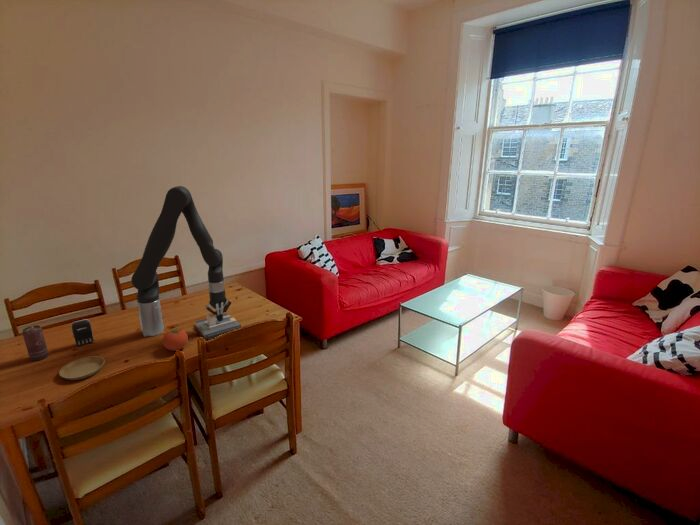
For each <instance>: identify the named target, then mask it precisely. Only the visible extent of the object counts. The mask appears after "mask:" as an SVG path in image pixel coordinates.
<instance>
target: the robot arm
mask: <svg viewBox="0 0 700 525" xmlns="http://www.w3.org/2000/svg"><path fill="white" fill-rule="evenodd" d="M192 196H193V195H192V193H191V192H190V190H189V189H188V188H186V187H185V186H182V185H181V186H180V185H177V186H174V187H171V188H170V189H169V190H168V191H167V192H166V195H165V196H164V197H165V198H164V200H163V201H164V202H163V204H162V209H161V212H160V214H159V216H158V218H157V220H156V222H155V224H154V226H153V227H152V230H151V232H150V234H149V237H148V239H147V241H146V245H145V248H144V251H143V254H142V257H141V260H140V262H139V263H138V265H137V267H136V269H135V271H134V272H133V274H132V275H131V285H132V286H133V287H134V289H136V290H137V293H136V294H137V295H136V301H137V308H138V312H139V313H138V317H139V318H138V319H139V323H140V324H139V325H140V328H141V334H142V335H143V337H145V338H146V337H154V336H158V335H160V334H162V333H163V332H164V330H165V328H164V327H165V326H164V320H163V314H162V307H161V300H160V284H159V276H158V272H157V270H158V267H159V265H160V263H161V262H162V260H163V259H164V258H165V256H166V254H167V252H168V250H170V247H171V245H172V242H173V240H174V237H175V236H176V235H175V234H176V229H177V224H178V220H179V218H180V216H181V214H183V216H184V218H185V220H186V222H187V227H188V229H189V231H190V234H191V236H192V238H193V240H194V241H195V243H196V245H197V246H198V248H199V251H200V253H201V257H202V258H203V261H204V262H205V263H206V265H208V271H207V279H208V280H207V282H208V285H207V286H208V296H209V302H208V304H207V305H205V307H204V308H205V309H206V310H207V311H208V312H210V314H213V315H214V316H216V318H217V320H218V321H219V322H220V321H222V320H223V314H225V313H227V312H228V309H229V308H230V306H231V304H232V301H230V300H228V299H227V297H226V296H227V295H226V285H225V281H224V271H223V267H224V266H223V264H224V263H223V262H224V261H223V260H224V257H223V253H222V252H221V251H220V250H219V249H217V248H215V246H214V240H213V238H212V237H211V235H210V233H209V231H208V229H207V228H206V226H205V224H204V222H203V220H202V218H201V216H200V215H199V214H200V213H199V212H198V210H197V207H196V205H195V202H194V199H193V197H192ZM212 308H213V309H214V310H213V309H212Z"/></svg>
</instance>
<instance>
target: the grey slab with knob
mask: <svg viewBox="0 0 700 525" xmlns="http://www.w3.org/2000/svg"><path fill="white" fill-rule="evenodd" d="M224 315H228V313H227V312H225V313H223V316H224ZM214 316H215V318H216V315H214ZM205 320H207V318H204V319H200V320H196V321H195V323H198V322H202V321H205ZM238 328H241V329H242V326H241V327H240V326H237V327H234V328H230V329H227V330H223V331H220V332H216V333H213V334H209V335H207V338H208V339H207V338H206V339H207V340H208V341H210V340H213V338H214V339H216V338H215V337H217V336H219V335H221V334H224V333H227V332H229V331H232V330H234V329H238ZM217 338H218V337H217Z"/></svg>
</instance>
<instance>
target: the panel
mask: <svg viewBox="0 0 700 525" xmlns="http://www.w3.org/2000/svg"><path fill="white" fill-rule="evenodd" d="M227 314H228V313H227ZM194 324H195V328H196V327H197V328H198V329H197V328H196V329H197V330H198V332H199V331H200V332H201V333H200V332H199V333H200V334H201V335H203V336H204V337H203V336H202V337H203V338H204V339H205V338H206V339H207V335H209V334H213V333H216V332H220V331H223V330H227V329H230V328H234V327H237V326H240V327H241V328H242V324H241V323H240V322H239V321H238V320H237V319H236V318H235V317H234V316H233V315H232V314H230V313H229V314H228V315H224V316H223V320H222V321H220V322H219V321H218V320H217V318H216V325H213V326H210V327H209V325H208V324H207V320H205V321H202V322H198V323H196V322H195V323H194Z"/></svg>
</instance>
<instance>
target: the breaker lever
mask: <svg viewBox="0 0 700 525" xmlns="http://www.w3.org/2000/svg"><path fill="white" fill-rule="evenodd" d="M215 316H216V315H213V314H212V313H209V314H207V315H206V319H207V324H208V325H209V327H210V326H213V325H216V318H215Z"/></svg>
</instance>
